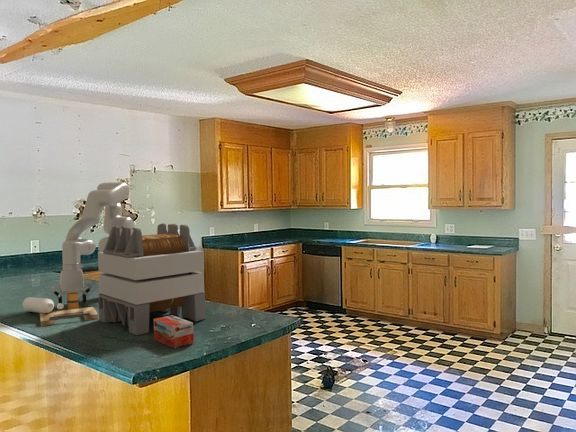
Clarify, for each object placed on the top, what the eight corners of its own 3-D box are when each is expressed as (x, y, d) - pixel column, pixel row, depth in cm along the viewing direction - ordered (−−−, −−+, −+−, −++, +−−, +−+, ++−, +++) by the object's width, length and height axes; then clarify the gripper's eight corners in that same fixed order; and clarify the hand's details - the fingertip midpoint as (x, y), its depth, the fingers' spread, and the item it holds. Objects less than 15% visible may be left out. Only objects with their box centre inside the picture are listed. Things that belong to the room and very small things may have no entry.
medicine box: (194, 344, 170) (193, 322, 169) (174, 349, 164) (173, 326, 164) (172, 335, 181) (172, 314, 180) (152, 340, 175) (152, 318, 175)
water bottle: (21, 311, 219) (41, 314, 202) (23, 297, 220) (43, 298, 203) (41, 311, 225) (62, 313, 208) (42, 297, 226) (64, 298, 209)
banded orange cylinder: (78, 308, 226) (78, 291, 226) (79, 310, 222) (79, 293, 221) (67, 309, 224) (66, 292, 223) (67, 312, 219) (67, 294, 219)
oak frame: (93, 311, 220) (93, 304, 220) (98, 318, 206) (98, 311, 206) (39, 317, 210) (39, 310, 210) (40, 326, 196) (40, 318, 195)
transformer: (207, 319, 203) (205, 224, 201) (136, 336, 180) (133, 228, 178) (165, 306, 227) (163, 221, 225) (97, 320, 204) (94, 225, 202)
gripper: (90, 265, 229) (91, 300, 229) (50, 267, 221) (51, 304, 221) (92, 267, 222) (93, 303, 223) (51, 269, 214) (52, 307, 215)
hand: (72, 304), depth 222 cm, fingers open, 9 cm apart
